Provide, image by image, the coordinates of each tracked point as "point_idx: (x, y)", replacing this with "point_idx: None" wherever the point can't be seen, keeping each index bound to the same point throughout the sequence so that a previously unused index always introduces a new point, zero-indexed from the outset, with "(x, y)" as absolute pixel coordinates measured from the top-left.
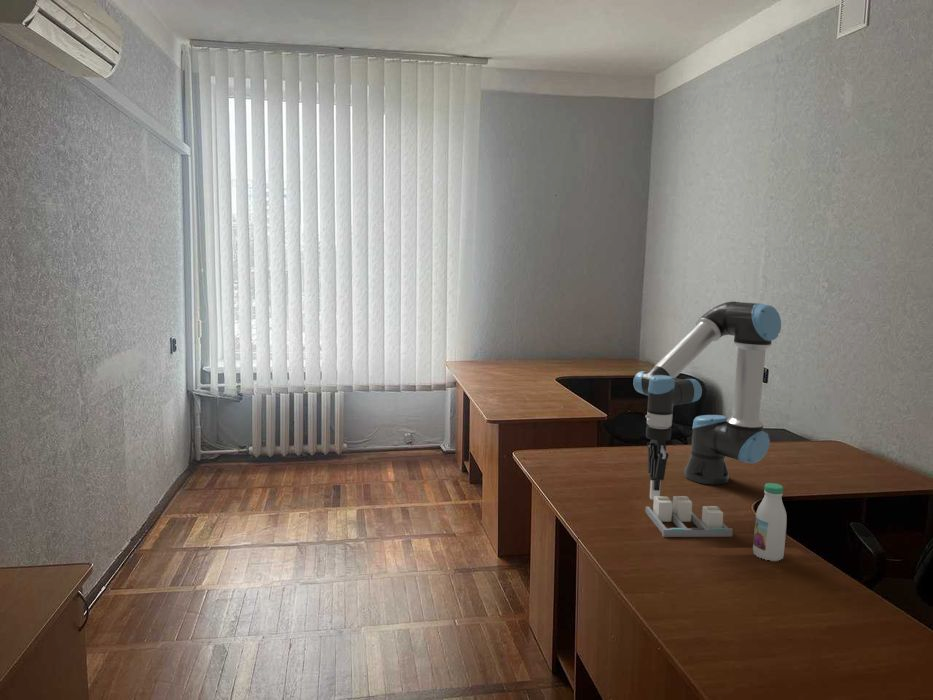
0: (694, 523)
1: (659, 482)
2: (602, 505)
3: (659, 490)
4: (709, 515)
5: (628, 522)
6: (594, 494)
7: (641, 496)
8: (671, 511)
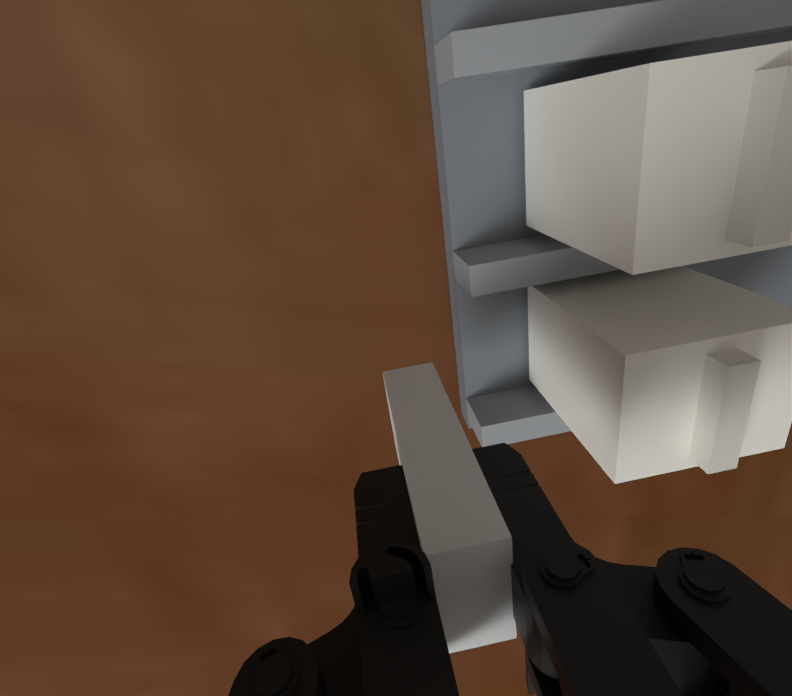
0: (732, 38)
1: (564, 533)
2: (310, 613)
3: (459, 426)
4: None
5: (557, 494)
6: (125, 658)
7: (13, 400)
8: (730, 287)
